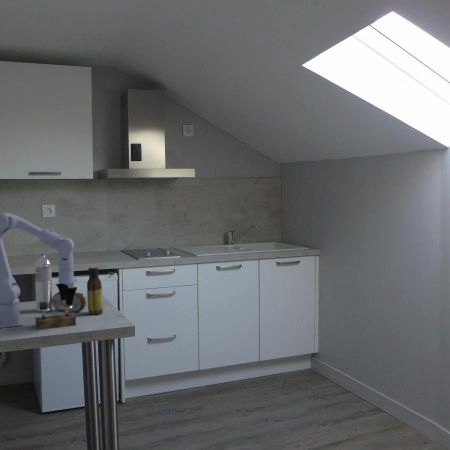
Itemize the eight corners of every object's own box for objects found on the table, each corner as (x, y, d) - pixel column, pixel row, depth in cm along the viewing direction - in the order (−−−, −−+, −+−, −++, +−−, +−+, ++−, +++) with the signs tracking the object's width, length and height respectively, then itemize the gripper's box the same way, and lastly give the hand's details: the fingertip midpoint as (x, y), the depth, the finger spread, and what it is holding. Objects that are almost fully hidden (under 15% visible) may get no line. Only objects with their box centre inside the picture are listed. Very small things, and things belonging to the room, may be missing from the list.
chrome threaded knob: (38, 320, 231) (38, 304, 230) (35, 317, 235) (35, 301, 235) (51, 319, 233) (51, 302, 233) (48, 316, 238) (48, 300, 237)
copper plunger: (62, 318, 235) (61, 301, 235) (59, 315, 240) (58, 299, 239) (75, 316, 238) (74, 300, 237) (71, 313, 242) (71, 298, 241)
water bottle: (53, 311, 259) (52, 254, 257) (36, 313, 257) (35, 254, 254) (51, 308, 265) (50, 252, 263) (35, 309, 263) (34, 252, 261)
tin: (86, 311, 260) (85, 292, 259) (82, 313, 257) (82, 293, 256) (55, 309, 264) (54, 290, 263) (51, 311, 261) (50, 291, 260)
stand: (39, 329, 230) (39, 321, 230) (35, 325, 236) (35, 317, 236) (75, 325, 237) (75, 317, 237) (71, 321, 243) (71, 313, 243)
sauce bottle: (104, 311, 260) (103, 265, 258) (101, 315, 254) (101, 268, 252) (88, 311, 260) (88, 265, 258) (86, 315, 253) (85, 268, 252)
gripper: (81, 270, 232) (81, 305, 234) (71, 265, 245) (72, 298, 246) (62, 272, 229) (63, 307, 230) (53, 266, 242) (54, 300, 243)
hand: (66, 303), depth 238 cm, fingers open, 7 cm apart
